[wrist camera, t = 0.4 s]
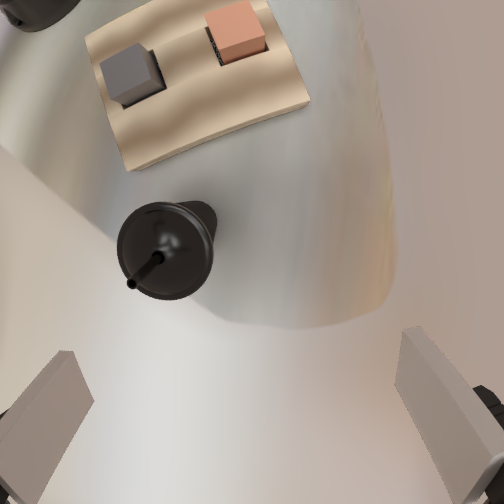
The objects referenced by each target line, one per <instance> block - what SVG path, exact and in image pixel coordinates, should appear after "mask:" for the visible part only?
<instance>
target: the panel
mask: <svg viewBox="0 0 504 504" xmlns="http://www.w3.org/2000/svg"><path fill="white" fill-rule="evenodd" d="M242 1H245V0H153V1H151V2H149V3H147V4H144V5H142V6H140V7H138V8H136V9H134V10H132V11H130V12H128V13H126V14H124V15H122V16H120V17H118V18H117V19H115V20H113V21H111V22H109V23H107V24H106V25H104V26H102V27H100V28H99V29H97V30H95V31H94V32H92V33H90V34H89V35H87V36H85V41H86V45H87V48H88V52H89V56H90V59H91V63H92V66H93V70H94V73H95V77H96V80H97V83H98V87H99V90H100V93H101V97H102V100H103V103H104V106H105V109H106V112H107V115H108V118H109V121H110V124H111V127H112V130H113V133H114V136H115V139H116V142H117V145H118V148H119V150H120V153H121V156H122V159H123V162H124V164H125V167H126V170H127V172H129V171H140V170H142V169H144V168H147V167H149V166H151V165H153V164H155V163H157V162H160V161H162V160H164V159H166V158H169V157H171V156H173V155H176V154H178V153H180V152H183V151H185V150H187V149H190V148H192V147H194V146H197V145H199V144H202V143H204V142H207V141H209V140H212V139H214V138H217V137H219V136H222V135H225V134H227V133H230V132H232V131H235V130H238V129H241V128H243V127H246V126H249V125H252V124H254V123H257V122H260V121H263V120H266V119H269V118H272V117H275V116H278V115H281V114H284V113H287V112H290V111H293V110H297V109H300V108H303V107H305V106H306V105H307V104H308V103H309V102H310V97H309V95H308V92H307V90H306V87H305V85H304V83H303V80H302V78H301V75H300V73H299V71H298V68H297V66H296V64H295V61H294V59H293V57H292V55H291V52H290V50H289V48H288V46H287V44H286V41H285V39H284V37H283V35H282V33H281V31H280V29H279V27H278V24H277V22H276V20H275V18H274V16H273V14H272V12H271V10H270V8H269V6H268V4H267V2H266V0H249V2H250V4H251V6H252V8H253V10H254V12H255V14H256V16H257V18H258V21H259V23H260V25H261V27H262V29H263V31H264V33H265V50H264V52H263V53H260V54H257V55H254V56H251V57H248V58H245V59H242V60H239V61H236V62H233V63H230V64H227V65H225V66H222V67H221V66H220V64H219V61H218V59H217V56H216V54H215V52H214V49H213V47H212V44H211V42H210V40H212V39H213V37H212V35H211V32H210V30H209V27H208V25H207V22H206V20H205V17H204V14H205V13H208V12H211V11H214V10H217V9H220V8H223V7H226V6H229V5H232V4H235V3H238V2H242ZM138 42H139V43H140V44H141V45H142V46H143V47H144V48H145V49H146V50H147V51H148V52H150V53H151V54H152V55H153V56H154V58H155V61H156V63H157V62H158V64H159V67H160V70H161V72H162V75H163V78H164V81H165V83H166V86H167V89H166V90H164V91H161V92H159V93H157V94H155V95H153V96H151V97H149V98H147V99H145V100H143V101H141V102H139V103H137V104H135V105H133V106H131V107H128V106H126V105H123V104H121V103H118V102H115V101H113V100H110V97H109V94H108V90H107V87H106V84H105V81H104V78H103V74H102V71H101V68H100V64H99V63H101V62H102V61H104V60H106V59H108V58H109V57H111V56H113V55H115V54H117V53H119V52H120V51H122V50H124V49H126V48H128V47H130V46H132V45H134V44H136V43H138Z"/></svg>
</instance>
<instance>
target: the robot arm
mask: <svg viewBox="0 0 504 504" xmlns="http://www.w3.org/2000/svg"><path fill="white" fill-rule="evenodd" d="M79 1H80V0H0V10H1V11H2V12H3V14H4V15H5V16H6V18H7V19H8V20H9V22H10V23H11V24H12V25H13V26H14V27H16V28H18V29H21V30H23V31H26V32H35V31H39V30H42V29H45V28H47V27H49V26H51V25H52V24H54V23H56V22H57V21H58V20H60V19H61V18H62V17H64V16H65V15H66V14H67V13H68V12H69V11H70V10H71V9H72V8H73V7H74V6H75V5H76V4H77V3H78V2H79ZM395 387H396V389H397V391H398V392H399V394H400V396H401V398H402V400H403V401H404V404H405V406H406V407H407V410H408V411H409V413H410V415H411V417H412V419H413V421H414V423H415V425H416V427H417V429H418V431H419V433H420V435H421V437H422V439H423V441H424V443H425V445H426V447H427V449H428V451H429V453H430V455H431V457H432V459H433V461H434V463H435V465H436V468H437V470H438V472H439V474H440V476H441V478H442V480H443V482H444V485H445V487H446V489H447V491H448V493H449V496H450V498H451V500H452V502H453V504H472V503H474V502H476V501H477V500H478V499H479V498H480V496H481V495H482V494H483V492H484V491H485V493H486V495H487V496H488V499H487V500H486V501H485V502H484V504H504V405H503V404H501V401H500V400H499V399H498V398H497V396H496V395H495V394H494V393H493V392H492V391H490V390H488V389H487V388H485V387H484V386H482V385H480V386H477V387H475V388H471V386H470V385H469V384H468V383H467V381H466V380H465V379H464V378H463V376H462V375H461V374H460V373H459V371H458V370H457V369H456V368H455V367H454V365H453V364H452V363H451V362H450V360H449V359H448V358H447V357H446V356H445V354H444V353H443V352H442V351H441V350H440V349H439V347H438V346H437V345H436V344H435V343H434V341H433V340H432V339H431V338H430V337H429V336H428V334H427V333H426V332H425V331H424V330H423V329H422V327H421V326H417V327H412V328H407V329H403V332H402V340H401V347H400V355H399V362H398V368H397V374H396V380H395ZM93 403H94V400H93V397H92V395H91V393H90V391H89V389H88V386H87V384H86V382H85V379H84V377H83V375H82V373H81V370H80V368H79V365H78V362H77V360H76V358H75V355H74V352H73V351H59V352H58V353H57V354H56V355H55V356H54V357H53V358H52V360H51V361H50V362H49V363H48V364H47V365H46V366H45V368H44V369H43V370H42V371H41V372H40V373H39V374H38V376H37V377H36V378H35V379H34V380H33V381H32V383H31V384H30V385H29V386H28V387H27V388H26V389H25V391H24V392H23V393H22V394H21V395H20V397H19V398H18V399H17V400H16V401H15V402H14V404H13V405H12V406H11V407H10V408H9V409H8V410H6V411H5V412H4V413H2V414H1V415H0V504H10V502H9V501H8V500H7V498H8V496H9V495H10V496H11V497H12V498H13V499H14V500H15V501H16V502H17V503H18V504H37V503H38V501H39V499H40V497H41V495H42V493H43V491H44V489H45V487H46V485H47V484H48V481H49V480H50V478H51V476H52V474H53V473H54V471H55V469H56V467H57V465H58V463H59V462H60V460H61V458H62V456H63V454H64V453H65V451H66V449H67V447H68V445H69V444H70V442H71V440H72V438H73V437H74V435H75V433H76V432H77V430H78V428H79V426H80V425H81V423H82V421H83V419H84V418H85V416H86V414H87V413H88V411H89V409H90V408H91V406H92V404H93Z"/></svg>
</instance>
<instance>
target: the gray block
mask: <svg viewBox="0 0 504 504" xmlns="http://www.w3.org/2000/svg"><path fill="white" fill-rule="evenodd" d="M99 64H100V68H101V71H102V74H103V78H104V81H105V84H106V87H107V90H108V94H109V97H110V100H113V101H115V102H118V103H121V104H123V105H126V106H128V107H131V106H133V105H135V104H137V103H139V102H141V101H143V100H145V99H147V98H149V97H151V96H153V95H155V94H157V93H159V92H161V91H164V90H166V88H165V86H164V83H163V80H162V77H161V75H160V72H159V69H158V66H157V64H156V61H155V58H154V56H153V55H152V54H151V53H150V52H148V51H147V50H146V49H145V48H144V47H143V46H142V45H141V44H140V43H139V42H138V43H136V44H134V45H132V46H130V47H128V48H126V49H124V50H122V51H120V52H119V53H117V54H115V55H113V56H111V57H109V58H108V59H106V60H104V61H102V62H101V63H99Z"/></svg>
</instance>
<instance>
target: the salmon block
mask: <svg viewBox="0 0 504 504" xmlns="http://www.w3.org/2000/svg"><path fill="white" fill-rule="evenodd" d="M204 17H205V20H206V22H207V25H208V27H209V30H210V32H211V35H212V37H213V39H214V42H215V44H216V47H217V49H218V51H219V54H220V56H221V59H222V61H223V63H224V66H225V65H227V64H230V63H233V62H236V61H239V60H242V59H245V58H248V57H251V56H254V55H257V54H260V53H263V52H264V50H265V33H264V31H263V29H262V27H261V25H260V23H259V21H258V18H257V16H256V14H255V12H254V10H253V8H252V6H251V4H250V2H249V0H245V1H242V2H238V3H235V4H232V5H229V6H226V7H223V8H220V9H217V10H214V11H211V12H208V13H205V14H204Z"/></svg>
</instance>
